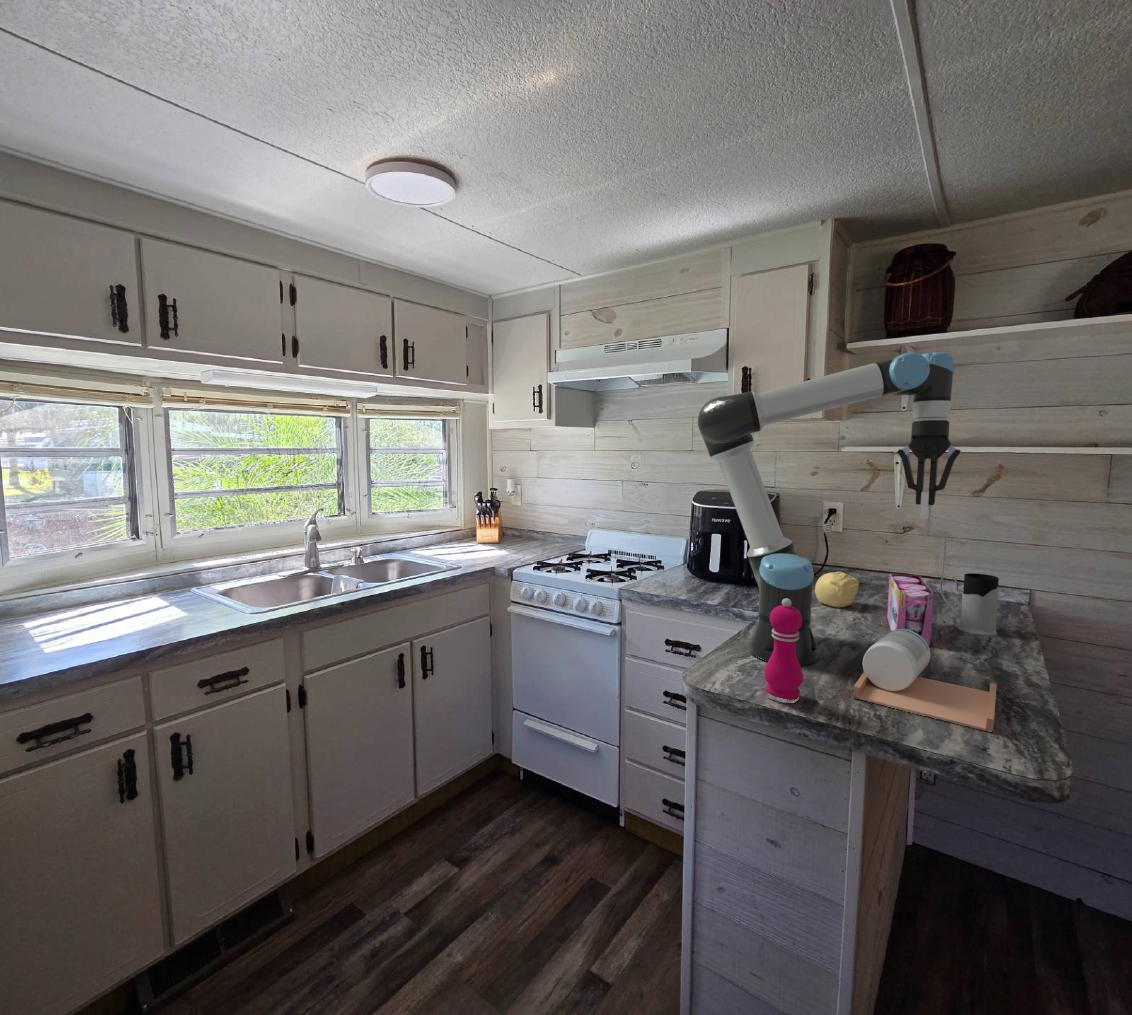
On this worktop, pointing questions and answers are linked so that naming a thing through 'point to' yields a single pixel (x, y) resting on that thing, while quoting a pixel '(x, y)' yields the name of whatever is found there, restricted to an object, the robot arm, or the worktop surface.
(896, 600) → the gum box
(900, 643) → the supplement tub
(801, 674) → the pepper mill
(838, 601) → the sculpture
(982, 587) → the glass holder
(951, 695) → the tan shallow tray
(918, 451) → the robot arm
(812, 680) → the worktop surface
